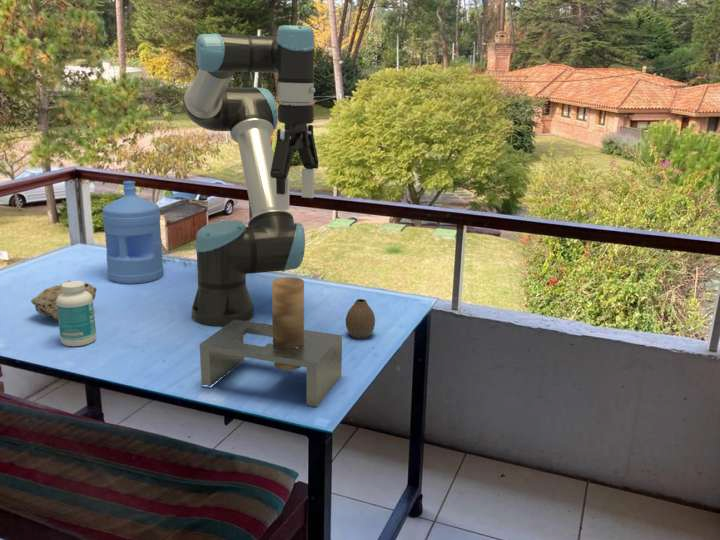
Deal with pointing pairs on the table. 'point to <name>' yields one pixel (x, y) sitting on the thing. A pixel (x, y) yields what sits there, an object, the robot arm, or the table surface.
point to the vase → (360, 320)
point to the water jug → (133, 238)
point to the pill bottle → (76, 314)
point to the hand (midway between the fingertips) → (295, 203)
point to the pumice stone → (54, 299)
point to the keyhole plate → (274, 356)
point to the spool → (288, 315)
